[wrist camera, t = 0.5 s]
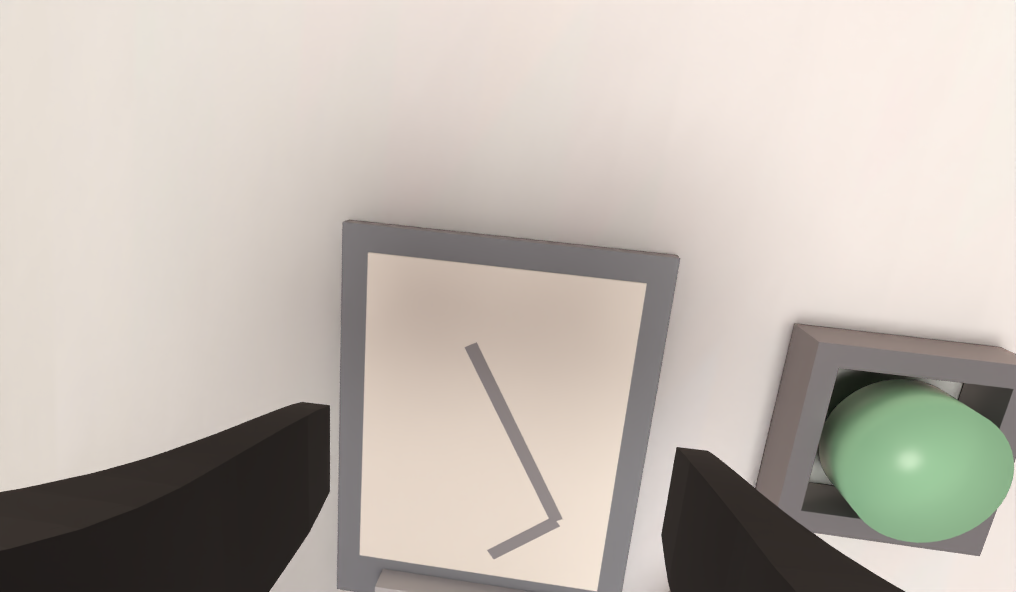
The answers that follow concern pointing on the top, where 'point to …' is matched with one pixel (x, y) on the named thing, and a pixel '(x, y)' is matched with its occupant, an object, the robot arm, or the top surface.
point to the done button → (915, 460)
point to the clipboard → (493, 409)
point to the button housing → (805, 400)
